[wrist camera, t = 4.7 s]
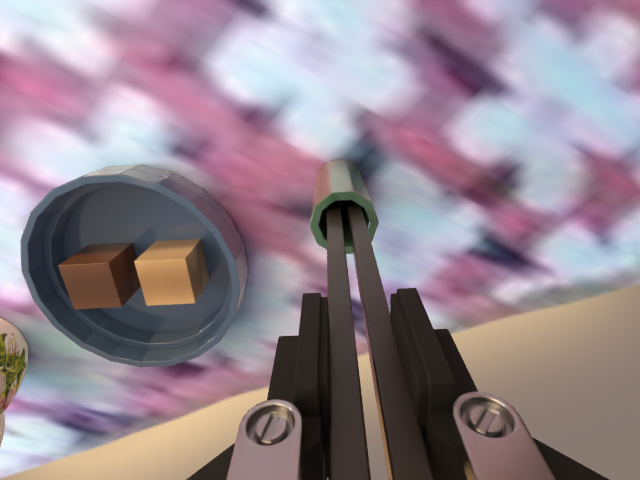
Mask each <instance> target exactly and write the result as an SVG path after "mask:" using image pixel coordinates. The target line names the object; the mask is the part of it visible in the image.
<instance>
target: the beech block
mask: <svg viewBox="0 0 640 480" xmlns="http://www.w3.org/2000/svg"><path fill="white" fill-rule="evenodd" d="M134 262H135V266H136V269H137V273H138V277H139V280H140V284H141V287H142V291H143V294H144V298H145V302H146V305H147V306H152V305H172V304H191V303H196V301H197V300H198V298H199V296H200V295H201V293H202V291H203V290H204V288H205V286H206V284H207V283H208V281H209V275H208V270H207V265H206V260H205V255H204V250H203V245H202V240H201V239H187V240H170V241H156V242H154V243H153V244H152V245H151V246H150V247H149V248H148V249H147V250H146V251H145V252H144V253H143V254H142V255H140V256H139V257H138V258H137V259H136V260H135V261H134Z"/></svg>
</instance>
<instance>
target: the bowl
mask: <svg viewBox="0 0 640 480" xmlns="http://www.w3.org/2000/svg"><path fill="white" fill-rule="evenodd" d="M187 239H201V240H202V245H203V250H204V255H205V260H206V265H207V270H208V275H209V281H208V283H207V284H206V286H205V288H204V290H203V291H202V293H201V295H200V296H199V298H198V300H197V301H196V303H191V304H172V305H152V306H147V305H146V302H145V298H144V294H143V291H142V287H140V288H139V289H138V290H137V291H136V292H135V293H134V294H133V295H132V297H131V298H130V299H129V300H128V301H127V302H126V303H125V304H124V305H123V306H122V307H111V308H91V309H74V307H73V305H72V302H71V299H70V296H69V294H68V291H67V288H66V286H65V283H64V280H63V277H62V275H61V272H60V269H59V266H58V265H60V264H61V263H63V262H64V261H66V260H67V259H68V258H70V257H71V256H73V255H74V254H76V253H77V252H79V251H80V250H82V249H83V248H85V247H86V246H88V245H101V244H118V243H133V246H134V249H135V253H136V256H137V258H138V257H139V256H140V255H142V254H143V253H144V252H145V251H146V250H147V249H148V248H149V247H150V246H151V245H152V244H153V243H154V242H156V241H170V240H187ZM20 248H21V266H22V273H23V276H24V278H25V281H26V283H27V285H28V288H29V290H30V293H31V295H32V298H33V300H34V302H35V303H36V304H37V306H38V307H39V308H40V309H41V311H42V312H43V313H44V314H45V316H46V317H47V318H48V319H49V321H50V322H51V323H52V325H53V326H55V328H56V329H58V330H59V331H60V332H62V333H63V334H64V335H66V336H67V337H68V338H69V339H71V340H72V341H73V342H75V343H76V344H77V345H79V346H80V347H81V348H84V349H86V350H88V351H90V352H92V353H95V354H97V355H99V356H101V357H103V358H106V359H108V360H110V361H114V362H119V363H124V364H128V365H133V366H138V367H153V366H171V365H175V364H178V363H181V362H184V361H187V360H190V359H193V358H196V357H198V356H200V355H201V354H203V353H204V352H206V351H207V350H208V349H210V348H211V347H212V346H214V345H215V344H216V343H218V342H219V341H220V340H221V339H222V337H223V336H224V334H225V333H226V331H227V330H228V328H229V326H230V325H231V323H232V322H233V320H234V319H235V316H236V314H237V311H238V309H239V306H240V304H241V301H242V298H243V295H244V290H245V285H246V280H247V275H248V267H247V261H246V254H245V248H244V244H243V241H242V239H241V237H240V235H239V233H238V231H237V229H236V227H235V225H234V223H233V221H232V219H231V217H230V216H229V214H228V213H227V212H226V211H225V210H224V209H223V208H222V207H221V206H220V205H219V204H218V203H217V202H216V201H215V200H214V199H213V198H212V197H211V196H210V195H209V194H208V193H207V192H206V191H205V190H203V189H202V188H200V187H198V186H196V185H195V184H193V183H191V182H190V181H188V180H186V179H184V178H183V177H181V176H179V175H177V174H176V173H173V172H169V171H164V170H160V169H156V168H152V167H148V166H144V165H126V166H111V167H105V168H102V169H100V170H97V171H95V172H92V173H89V174H87V175H84V176H81V177H79V178H77V179H75V180H72V181H70V182H68V183H65V184H63V185H61V186H59V187H56V188H54V189H52V190H51V191H50V192H49V193H48V194H47V195H46V196H45V197H44V198H43V199H42V200H41V201H40V202H39V203H38V205H37V206H36V207H35V208H34V209H33V210H32V211H31V212H30V214H29V217H28V220H27V222H26V225H25V228H24V231H23V234H22V237H21V240H20Z"/></svg>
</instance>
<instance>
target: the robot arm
mask: <svg viewBox="0 0 640 480" xmlns="http://www.w3.org/2000/svg"><path fill="white" fill-rule="evenodd" d="M390 321H391V325H392V329H393V332H394V336H395V340H396V344H397V348H398V351H399V355H400V359H401V363H402V367H403V371H404V374H405V378H406V382H407V386H408V390H409V393H410V397H411V401H412V405H413V409H414V412H415V416H416V420H417V423H419V424H420V425H421V429H422V432H423V436H424V440H425V443H426V447H427V451H428V454H429V458H430V462H431V466H432V469H433V473H434V477H435V480H609V479H607V478H605V477H603V476H602V475H600V474H598V473H596V472H594V471H592V470H591V469H589V468H587V467H585V466H583V465H582V464H580V463H578V462H576V461H574V460H572V459H571V458H569V457H567V456H565V455H563V454H562V453H560V452H558V451H556V450H554V449H553V448H551V447H549V446H547V445H545V444H543V443H542V442H540V441H538V440H536V439H534V438H532V436H531V434H530V433H529V431H528V429H527V427H526V426H525V424H524V422H523V420H522V418H521V417H520V415H519V414H518V412H517V411H516V410H515V408H514V407H513V406H512V405H510V404H509V403H508V402H507V401H505V400H503V399H502V398H500V397H498V396H496V395H493V394H489V393H485V392H478V390H477V388H476V386H475V384H474V382H473V380H472V378H471V376H470V374H469V372H468V370H467V368H466V365H465V363H464V361H463V359H462V357H461V355H460V353H459V351H458V349H457V347H456V345H455V343H454V341H453V339H452V336H451V334H450V333H449V331H448V330H447V329H433V327H432V325H431V322H430V320H429V318H428V315H427V313H426V311H425V308H424V306H423V303H422V301H421V299H420V296H419V294H418V292H417V290H416V288H406V289H397V294H391V316H390ZM330 426H331V419H330V336H329V311H328V298H327V297H321V293H306V294H303V299H302V309H301V318H300V327H299V336H280V337H279V339H278V344H277V349H276V354H275V360H274V365H273V371H272V376H271V382H270V387H269V392H268V398H267V401H264V402H261V403H259V404H256V405H255V406H254V407H252V408H251V409H250V410H248V412H247V413H246V414H245V415H244V416H243V418H242V421H241V423H240V425H239V430H238V434H237V438H236V442H235V443H234V444H233V445H232V446H230V447H229V448H227V449H226V450H225V451H224V452H222V453H221V454H220V455H218V456H217V457H216V458H214V459H213V460H212V461H210V462H209V463H208V464H206V465H205V466H204V467H202V468H201V469H200V470H198V471H197V472H196V473H195V474H193V475H192V476H191V477H189V478H188V479H187V480H327V478H329V460H328V428H329V427H330Z"/></svg>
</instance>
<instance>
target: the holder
mask: <svg viewBox="0 0 640 480" xmlns="http://www.w3.org/2000/svg"><path fill="white" fill-rule="evenodd" d="M345 200H352V201H354V202H355V203H357V204H358V205H360V206H361V208H362V212H363V215H364V219H365V223H366V226H367V230H368V234H369V237H370V241H371V242H372V240H373V238H374V235H375V232H376V229H377V226H378V218H377V215H376V213H375V210H374V207H373V204H372V202H371V199H370V197H369V194H368V191H367V189H366V186H365V184H364V181H363V178H362V176H361V173H360V171H359V169H358V168H357V167H356V166H355V165H354V164H353V163H351V162H349V161H347V160H343V159H336V160H331V161H329V162H327V163H326V164H324V165H323V166H322V167H321V168H320V170H318V173H317V176H316V181H315V185H314V193H313V202H312V210H311V219H310V228H311V230H312V232H313V235H314V237H315V239H316V242H317V243H318V245H320V246H322V247H323V248H325V249H327V207H328V206H329V205H330V204H332V203H333V202H334V201H340V206H341V215H342V224H343V233H344V242H345V251H346V254H351V253H353V247H352V241H351V234H350V228H349V221H348V215H347V208H346V202H345Z"/></svg>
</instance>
